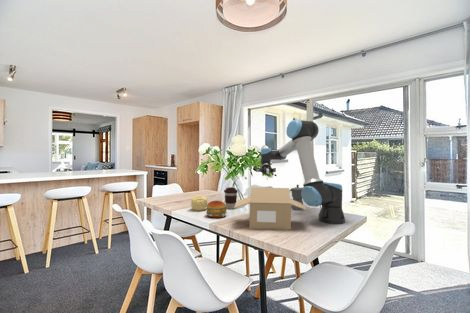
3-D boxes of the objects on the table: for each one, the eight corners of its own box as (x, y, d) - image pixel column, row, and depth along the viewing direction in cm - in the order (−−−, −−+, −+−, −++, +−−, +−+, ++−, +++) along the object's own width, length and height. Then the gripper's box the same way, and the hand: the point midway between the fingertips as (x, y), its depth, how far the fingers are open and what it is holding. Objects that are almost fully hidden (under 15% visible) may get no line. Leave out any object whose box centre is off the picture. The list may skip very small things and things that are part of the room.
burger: (201, 216, 153) (201, 200, 153) (216, 212, 163) (216, 198, 163) (216, 220, 144) (216, 203, 144) (231, 216, 154) (231, 200, 154)
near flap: (289, 188, 131) (289, 188, 130) (290, 203, 126) (290, 203, 125) (250, 187, 132) (250, 187, 132) (250, 202, 127) (250, 202, 127)
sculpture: (191, 212, 163) (191, 196, 163) (190, 208, 174) (190, 193, 174) (208, 211, 165) (208, 196, 165) (206, 207, 177) (206, 193, 177)
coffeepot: (295, 211, 168) (295, 186, 167) (286, 208, 176) (286, 184, 176) (310, 209, 175) (311, 184, 175) (301, 206, 183) (302, 183, 183)
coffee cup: (235, 210, 170) (236, 189, 170) (222, 209, 172) (222, 188, 172) (238, 207, 180) (238, 187, 180) (225, 206, 182) (225, 186, 182)
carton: (298, 217, 152) (298, 195, 152) (307, 230, 125) (307, 204, 125) (237, 215, 155) (237, 193, 155) (233, 228, 128) (233, 202, 128)
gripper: (275, 174, 172) (278, 177, 148) (257, 174, 173) (257, 177, 149) (275, 164, 172) (278, 165, 148) (257, 163, 173) (257, 165, 149)
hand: (268, 171), depth 149 cm, fingers closed
